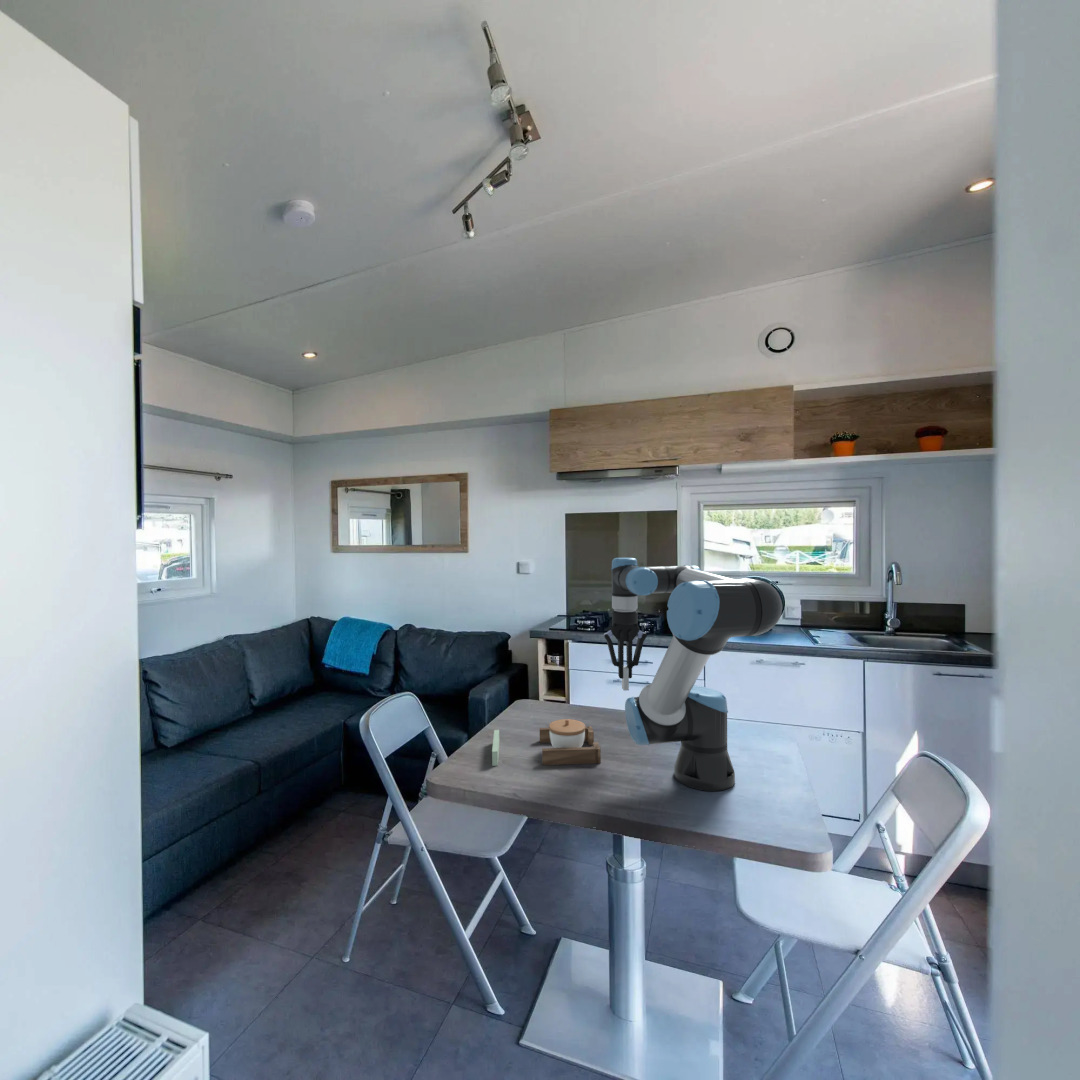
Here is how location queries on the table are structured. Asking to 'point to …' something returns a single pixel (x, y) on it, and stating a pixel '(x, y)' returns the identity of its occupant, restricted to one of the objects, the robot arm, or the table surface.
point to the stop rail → (495, 748)
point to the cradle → (570, 751)
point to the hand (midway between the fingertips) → (625, 689)
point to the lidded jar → (567, 733)
